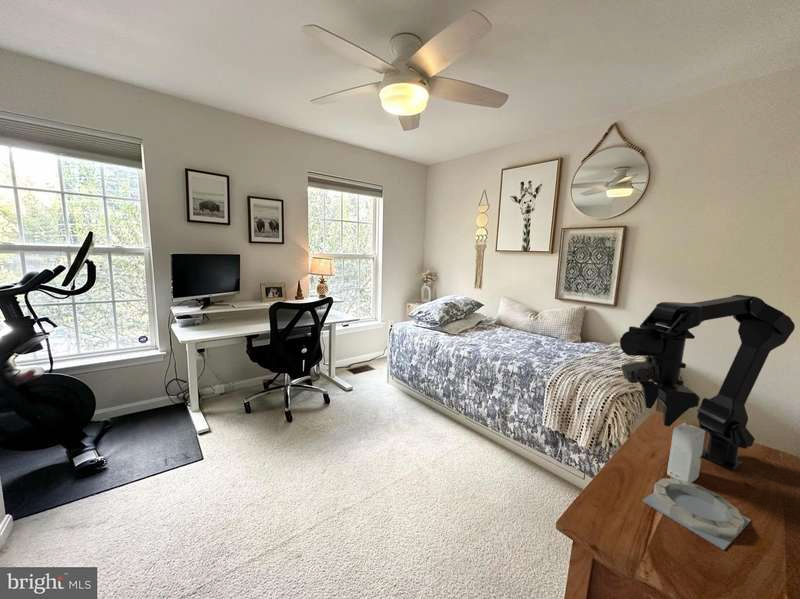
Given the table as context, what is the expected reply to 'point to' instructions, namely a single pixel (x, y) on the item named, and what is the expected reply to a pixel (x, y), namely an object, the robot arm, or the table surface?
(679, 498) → the grey base plate
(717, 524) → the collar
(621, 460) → the table surface
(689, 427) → the skincare box
